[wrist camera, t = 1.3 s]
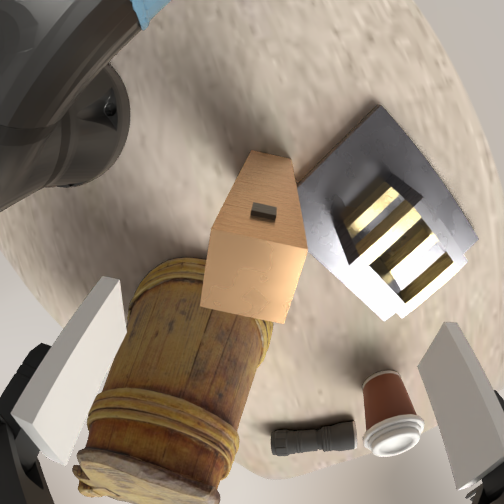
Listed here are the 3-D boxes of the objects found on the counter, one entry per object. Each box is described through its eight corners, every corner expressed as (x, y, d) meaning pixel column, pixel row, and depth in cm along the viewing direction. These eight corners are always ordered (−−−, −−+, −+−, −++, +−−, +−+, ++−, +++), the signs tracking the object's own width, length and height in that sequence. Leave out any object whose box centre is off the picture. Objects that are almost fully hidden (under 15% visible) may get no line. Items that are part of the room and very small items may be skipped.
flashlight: (274, 438, 54) (273, 461, 49) (269, 425, 52) (267, 449, 47) (353, 429, 51) (356, 453, 47) (354, 415, 49) (357, 440, 44)
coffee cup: (418, 376, 44) (438, 435, 33) (376, 405, 47) (388, 464, 37) (386, 356, 42) (405, 422, 31) (342, 389, 45) (350, 453, 35)
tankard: (300, 328, 40) (306, 520, 18) (182, 390, 48) (143, 526, 26) (201, 226, 35) (100, 425, 13) (96, 320, 43) (14, 454, 21)
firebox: (268, 212, 33) (265, 252, 25) (377, 105, 27) (412, 109, 19) (382, 315, 38) (400, 365, 30) (474, 234, 32) (512, 271, 24)
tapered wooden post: (243, 187, 32) (199, 306, 15) (252, 147, 30) (212, 223, 13) (282, 196, 33) (283, 323, 15) (291, 156, 31) (309, 244, 13)
